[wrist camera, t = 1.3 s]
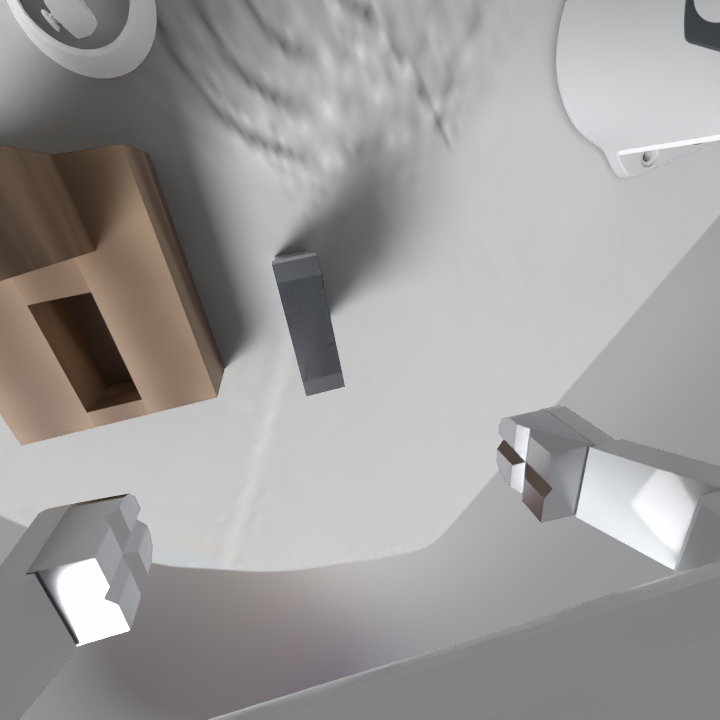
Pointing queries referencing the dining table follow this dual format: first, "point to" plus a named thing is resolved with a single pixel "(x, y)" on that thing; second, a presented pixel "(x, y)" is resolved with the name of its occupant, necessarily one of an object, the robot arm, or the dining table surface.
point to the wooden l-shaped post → (94, 295)
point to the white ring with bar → (81, 23)
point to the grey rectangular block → (308, 320)
